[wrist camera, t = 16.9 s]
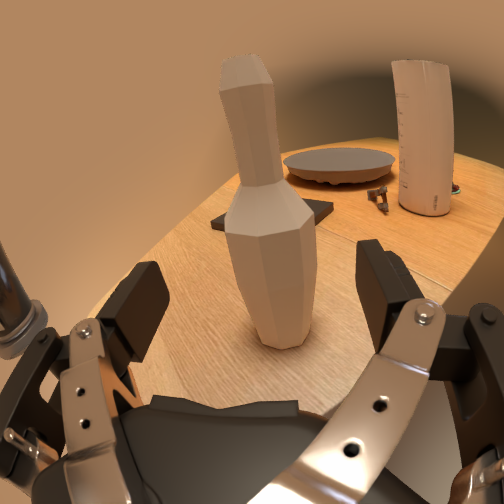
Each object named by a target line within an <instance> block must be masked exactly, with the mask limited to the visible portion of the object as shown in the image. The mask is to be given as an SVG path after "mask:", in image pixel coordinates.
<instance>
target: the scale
mask: <svg viewBox="0 0 504 504" xmlns="http://www.w3.org/2000/svg"><path fill="white" fill-rule="evenodd" d="M302 199H303V200H304V202H305V203H306V204H307V205H308V206H309V207H310V209H311V210H312V211H313V212H314V220H315V225H317V224H318V223H319V222H320V221H321V220H322V219H324V218H325V217H326V216H327V215H328V214H329V213H330V212H332V211H333V210H334V207H333V202H326V201H319V200H312V199H304V198H302ZM226 213H227V212H226ZM226 213H224V214H223V215H221V216H219V217H217V218H216V219H214V220H212V221H210V222H211V226H212V229H217V230H221V231H225V222H224V218H225V216H226Z"/></svg>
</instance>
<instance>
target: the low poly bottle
mask: <svg viewBox="0 0 504 504" xmlns="http://www.w3.org/2000/svg"><path fill="white" fill-rule="evenodd" d="M219 93H220V97H221V100H222V104H223V107H224V111H225V114H226V117H227V120H228V123H229V128H230V131H231V134H232V139H233V143H234V149H235V154H236V159H237V164H238V169H239V175H240V180H241V183H240V185H239V187H238V189H237V192H236V194H235V196H234V198H233V200H232V202H231V205H230V207H229V209H228V211H227V213H226V216H225V218H224V222H225V235H226V239H227V244H228V248H229V252H230V256H231V260H232V264H233V268H234V273H235V277H236V281H237V285H238V287H239V290H240V292H241V294H242V297H243V299H244V302H245V304H246V307H247V309H248V311H249V314H250V316H251V318H252V321H253V323H254V326H255V328H256V330H257V333H258V335H259V337H260V340H261V342H262V344H265V345H267V346H270V347H273V348H276V349H280V350H282V349H287V348H291V347H296V346H300V345H302V343H303V342H304V340H305V338H306V336H307V335H308V333H309V331H310V326H311V318H312V310H313V301H314V293H315V283H316V273H317V250H316V234H315V220H314V212H313V211H312V210H311V209H310V207H309V206H308V205H307V204H306V203H305V202H304V200H303V199H302V198H301V197H300V196H299V195H298V194H297V192H296V191H295V190H294V189H293V188H292V187H291V186H290V185H289V183H288V182H287V181H286V180H285V179H284V176H283V169H282V162H281V155H280V148H279V142H278V136H277V129H276V113H275V98H274V85H273V82H272V80H271V78H270V76H269V74H268V72H267V70H266V68H265V66H264V65H263V63H262V61H261V59H260V57H259V56H258V55H253V54H248V55H241V56H234V57H231V58H228V59H225V60H223V61H222V69H221V78H220V88H219Z"/></svg>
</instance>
